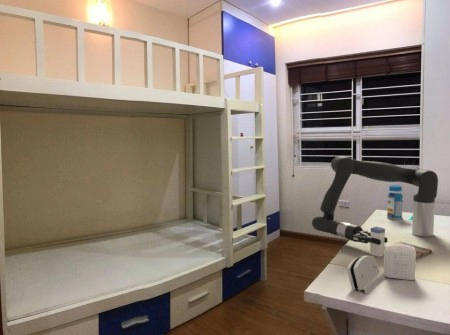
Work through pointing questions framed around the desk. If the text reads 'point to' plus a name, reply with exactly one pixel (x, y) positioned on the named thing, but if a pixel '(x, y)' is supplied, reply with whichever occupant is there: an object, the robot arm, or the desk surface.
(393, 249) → the photo printer
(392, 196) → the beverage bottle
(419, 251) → the pad
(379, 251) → the cartridge
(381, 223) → the desk surface
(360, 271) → the white black curved block
